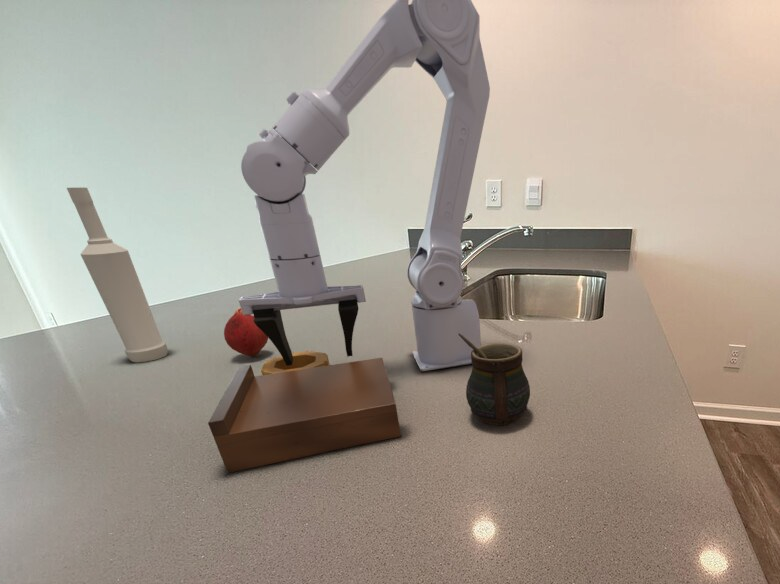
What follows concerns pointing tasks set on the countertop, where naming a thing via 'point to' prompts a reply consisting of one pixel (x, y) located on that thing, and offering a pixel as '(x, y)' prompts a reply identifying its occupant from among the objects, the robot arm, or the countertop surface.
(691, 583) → the countertop surface
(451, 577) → the countertop surface
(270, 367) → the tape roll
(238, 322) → the red pomegranate
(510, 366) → the mate gourd
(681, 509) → the countertop surface
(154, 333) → the bottle
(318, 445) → the shelf
